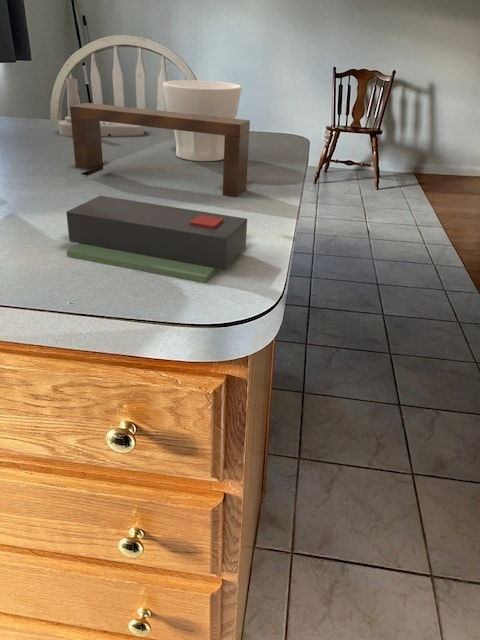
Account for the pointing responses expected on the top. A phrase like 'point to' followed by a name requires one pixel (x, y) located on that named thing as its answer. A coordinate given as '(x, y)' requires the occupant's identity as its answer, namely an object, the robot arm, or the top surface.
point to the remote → (158, 231)
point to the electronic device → (105, 127)
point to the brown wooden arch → (234, 130)
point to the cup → (201, 101)
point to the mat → (142, 262)
